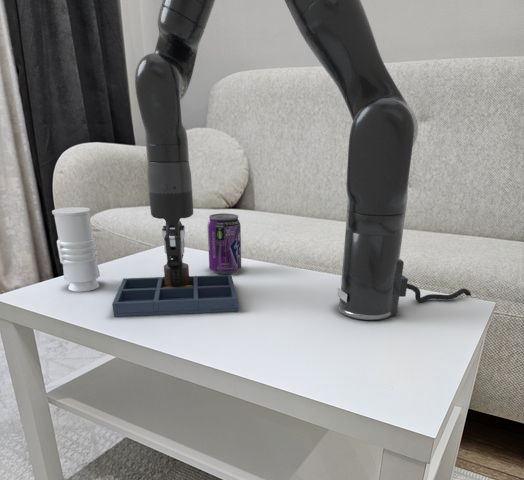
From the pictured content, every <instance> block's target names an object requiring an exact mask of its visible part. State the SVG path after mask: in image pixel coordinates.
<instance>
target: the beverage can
mask: <svg viewBox="0 0 524 480" xmlns="http://www.w3.org/2000/svg"><path fill="white" fill-rule="evenodd" d="M208 218H209V220H208V222H207V243H208V244H207V245H208V246H207V248H208V267H209V270H210V271H213V272H215V273H216V274H219V275H231V274H234V273H236V272H238V271H239V270H241V269H242V235H241V233H242V231H241V229H242V228H241V222H240V220H239V215H238V214H235V213H222V212H221V213H214V214H209V216H208Z"/></svg>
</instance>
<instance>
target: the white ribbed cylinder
mask: <svg viewBox="0 0 524 480" xmlns="http://www.w3.org/2000/svg"><path fill="white" fill-rule="evenodd" d="M90 213H91V208H89V207H84V206H83V207H82V206H71V207H69V206H68V207H61V208H60V207H59V208H56V209H53V210H52V211H51V214H52V215H53V216H54V217H53V218H54V222H55V228H56V233H57V240H56V247H57V251H58V257H59V262H60V264H61V265H62V270H63V279H64V281H67V282H69V284H68V290H69V291H71V292H80V293H81V292H89V291H93V290H96V289H98V288H99V287H100V284H99V282H98V281H97V279H99V278H100V277H101V274H100V273H101V272H100V269H99V265H98V259H99V258H98V257H99V256H98V255H97V254H98V251H97V249H96V248H97V244H96V243H95V242H96V238H95V237H94V235H93V228H92V222H91V214H90Z"/></svg>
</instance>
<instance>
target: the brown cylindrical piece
mask: <svg viewBox="0 0 524 480" xmlns="http://www.w3.org/2000/svg"><path fill="white" fill-rule="evenodd" d="M163 273H164V274H163V275H164V276H163V277H165V285H166V286H169V287H172V286H171V280H170V268H169V267H168V265H167V263H166V264H164V265H163ZM182 276H183V286H187V285H189V283H190V282H189V276H190V268H189V264H188V263H185V262H183V265H182ZM183 286H182V287H183Z"/></svg>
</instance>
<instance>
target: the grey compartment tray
mask: <svg viewBox="0 0 524 480" xmlns="http://www.w3.org/2000/svg"><path fill="white" fill-rule="evenodd" d="M189 282H190V283H189V285H187V286H183V287H169V286H166V285H165V276H155V277H154V276H153V277H126V278H125V277H124V278H122V281H121V283H120V285H119V287H118V290H117V292H116V293H115V297H114V299H113V301H112V304H111V305H112V311H113V312H112V313H113V317H115V318H117V317H142V316H162V315H163V316H164V315H184V314H185V315H187V314H208V313H210V314H211V313H233V312H234V313H235V312H238V311H239V304H238V303H239V300H238V295H237V291H236V287H235V283H234V279H233V275H232V274H213V275H211V274H210V275H189Z"/></svg>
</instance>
